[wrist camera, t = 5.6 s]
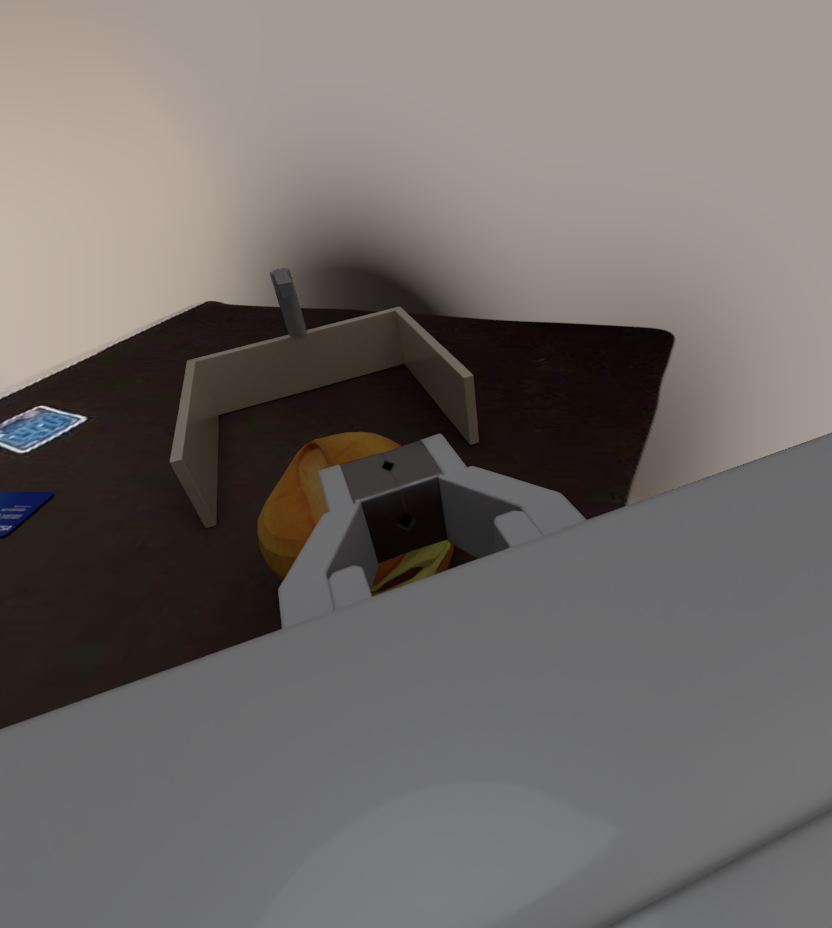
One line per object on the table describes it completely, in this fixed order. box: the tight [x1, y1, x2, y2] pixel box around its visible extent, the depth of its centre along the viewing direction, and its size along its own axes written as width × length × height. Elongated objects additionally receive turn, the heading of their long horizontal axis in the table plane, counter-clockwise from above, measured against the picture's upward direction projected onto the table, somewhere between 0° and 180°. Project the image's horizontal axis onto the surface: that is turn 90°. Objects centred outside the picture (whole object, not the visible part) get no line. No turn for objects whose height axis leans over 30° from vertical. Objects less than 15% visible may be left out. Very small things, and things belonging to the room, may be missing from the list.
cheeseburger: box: [258, 432, 454, 597], centre depth 28 cm, size 10×11×10 cm
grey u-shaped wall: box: [170, 268, 479, 528], centre depth 41 cm, size 19×22×12 cm
